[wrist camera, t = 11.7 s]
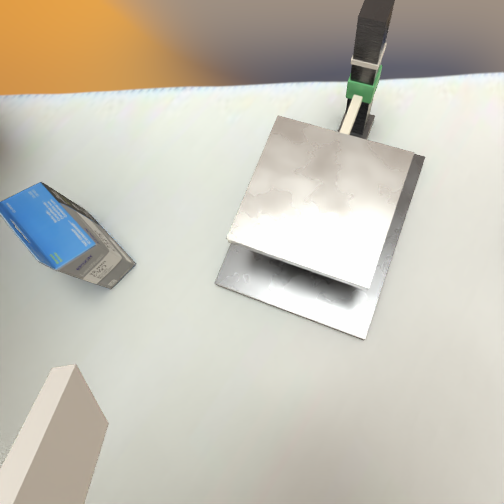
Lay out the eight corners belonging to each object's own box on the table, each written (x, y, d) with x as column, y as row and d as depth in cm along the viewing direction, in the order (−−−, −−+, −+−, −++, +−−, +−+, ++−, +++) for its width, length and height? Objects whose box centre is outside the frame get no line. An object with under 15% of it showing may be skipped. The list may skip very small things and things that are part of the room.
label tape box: (137, 265, 45) (76, 227, 33) (108, 292, 45) (36, 264, 33) (88, 210, 48) (15, 157, 36) (60, 236, 47) (-23, 191, 36)
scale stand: (216, 284, 43) (164, 237, 28) (293, 100, 48) (284, -29, 33) (363, 340, 40) (395, 320, 25) (431, 136, 45) (492, 12, 29)
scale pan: (239, 258, 42) (226, 238, 36) (296, 119, 46) (293, 77, 39) (359, 301, 40) (368, 288, 33) (411, 150, 43) (428, 111, 37)
